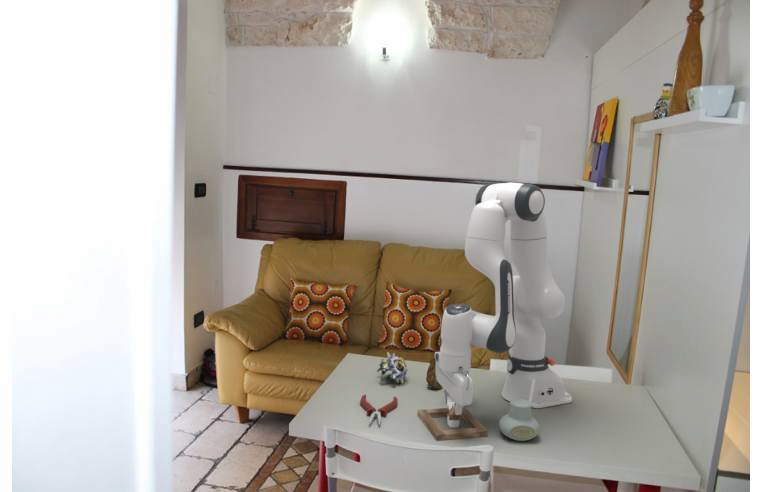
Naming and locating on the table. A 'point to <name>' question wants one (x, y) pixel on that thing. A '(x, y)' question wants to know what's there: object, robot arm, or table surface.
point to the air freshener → (519, 421)
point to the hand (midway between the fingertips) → (452, 408)
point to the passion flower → (394, 367)
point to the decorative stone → (432, 375)
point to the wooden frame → (440, 434)
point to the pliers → (381, 411)
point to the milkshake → (452, 413)
